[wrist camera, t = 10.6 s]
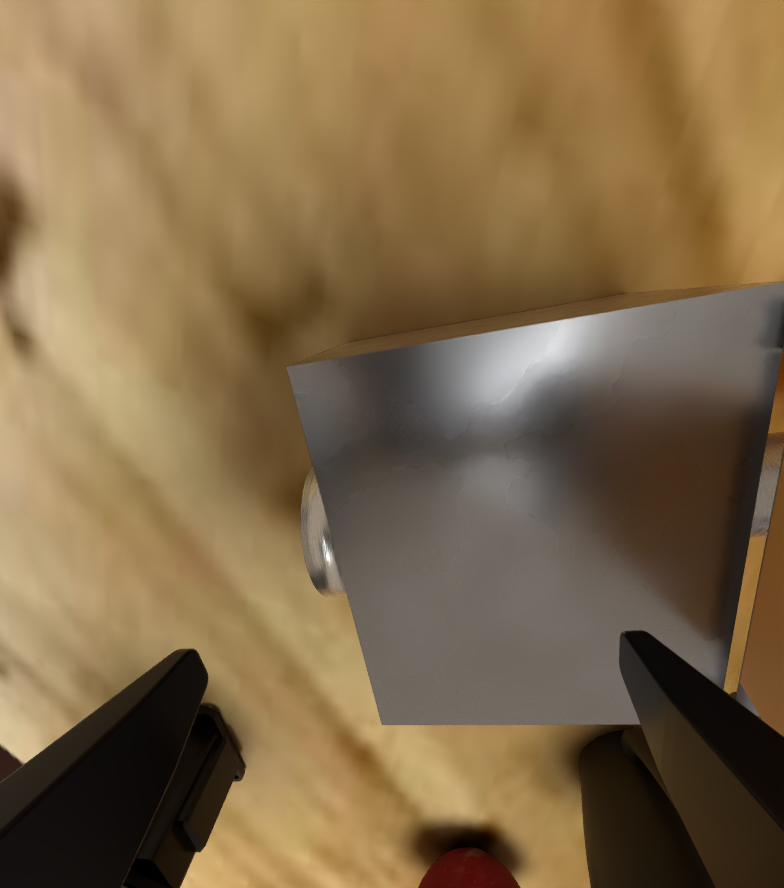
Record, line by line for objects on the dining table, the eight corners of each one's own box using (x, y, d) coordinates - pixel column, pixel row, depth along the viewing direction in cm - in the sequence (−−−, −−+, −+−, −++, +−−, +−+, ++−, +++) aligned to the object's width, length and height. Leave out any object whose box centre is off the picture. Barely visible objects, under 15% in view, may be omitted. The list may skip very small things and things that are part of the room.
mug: (727, 654, 17) (1037, 1021, 8) (707, 808, 21) (904, 1170, 12) (545, 662, 19) (646, 984, 10) (557, 805, 22) (637, 1129, 14)
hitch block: (398, 591, 18) (378, 754, 11) (347, 342, 14) (270, 373, 8) (638, 576, 16) (776, 758, 10) (655, 288, 12) (906, 265, 6)
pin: (355, 541, 16) (325, 629, 12) (331, 441, 15) (285, 498, 10) (741, 508, 14) (888, 603, 9) (761, 383, 12) (949, 427, 8)
